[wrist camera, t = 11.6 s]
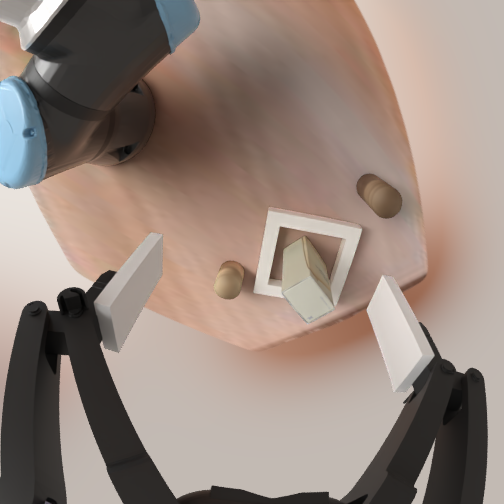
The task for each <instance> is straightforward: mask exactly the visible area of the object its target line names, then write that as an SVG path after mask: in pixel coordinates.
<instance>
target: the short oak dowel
mask: <svg viewBox="0 0 504 504" xmlns="http://www.w3.org/2000/svg"><path fill="white" fill-rule="evenodd" d="M243 276H244V269H243V267H242V266H241V264H239V263H238V262H235V261H227V262H225V263H223V264H222V265H221V268H220V270H219V273H218V276H217V278H216V281H215V284H214V290H215V292H216V294H217V295H218V296H220V297H221V298H224V299H233V298H236V297H237V296H238V295H239V293H240V290H241V285H242V281H243Z"/></svg>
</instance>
